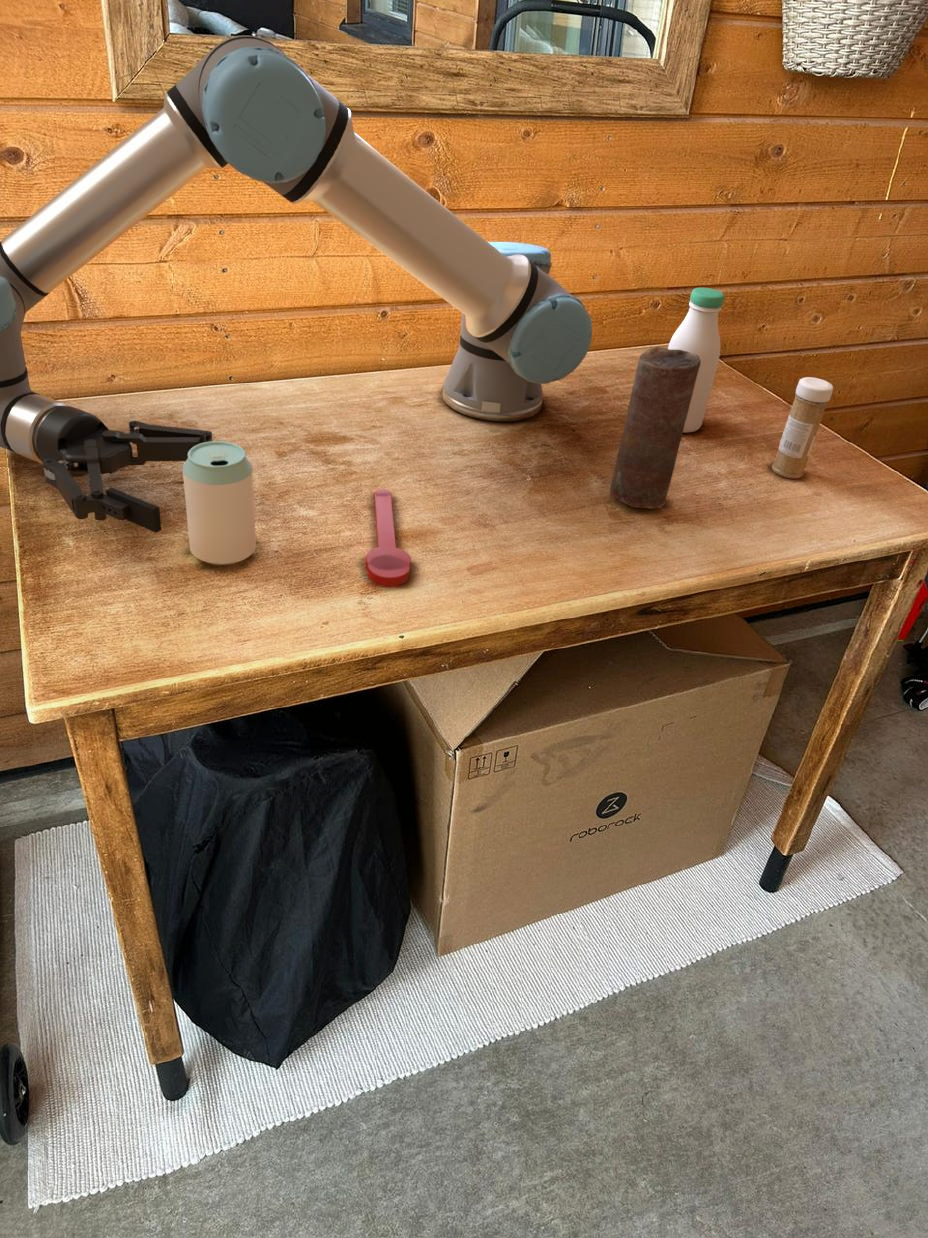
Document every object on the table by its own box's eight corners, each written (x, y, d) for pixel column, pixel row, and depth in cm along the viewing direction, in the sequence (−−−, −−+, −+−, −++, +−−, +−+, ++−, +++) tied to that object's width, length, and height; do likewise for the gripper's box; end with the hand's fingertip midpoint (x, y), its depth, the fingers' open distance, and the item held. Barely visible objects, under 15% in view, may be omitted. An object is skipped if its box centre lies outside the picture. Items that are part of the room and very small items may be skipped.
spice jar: (809, 476, 132) (841, 386, 124) (788, 482, 130) (819, 391, 122) (784, 462, 135) (814, 373, 127) (763, 468, 133) (792, 378, 125)
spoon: (361, 495, 116) (362, 486, 115) (402, 496, 116) (402, 487, 116) (366, 586, 100) (366, 577, 99) (412, 587, 101) (413, 578, 100)
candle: (650, 523, 117) (688, 370, 105) (598, 503, 120) (629, 353, 108) (672, 500, 123) (711, 353, 111) (622, 482, 125) (654, 336, 113)
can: (269, 549, 104) (266, 452, 97) (224, 576, 99) (217, 476, 92) (222, 527, 107) (216, 431, 99) (176, 553, 102) (166, 453, 94)
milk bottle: (703, 419, 145) (738, 289, 133) (697, 438, 139) (733, 304, 127) (655, 408, 147) (685, 279, 135) (646, 426, 141) (677, 293, 129)
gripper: (143, 430, 118) (277, 481, 111) (-28, 508, 100) (120, 575, 93) (136, 373, 114) (275, 423, 107) (-43, 444, 95) (110, 510, 88)
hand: (203, 494), depth 100 cm, fingers open, 13 cm apart
